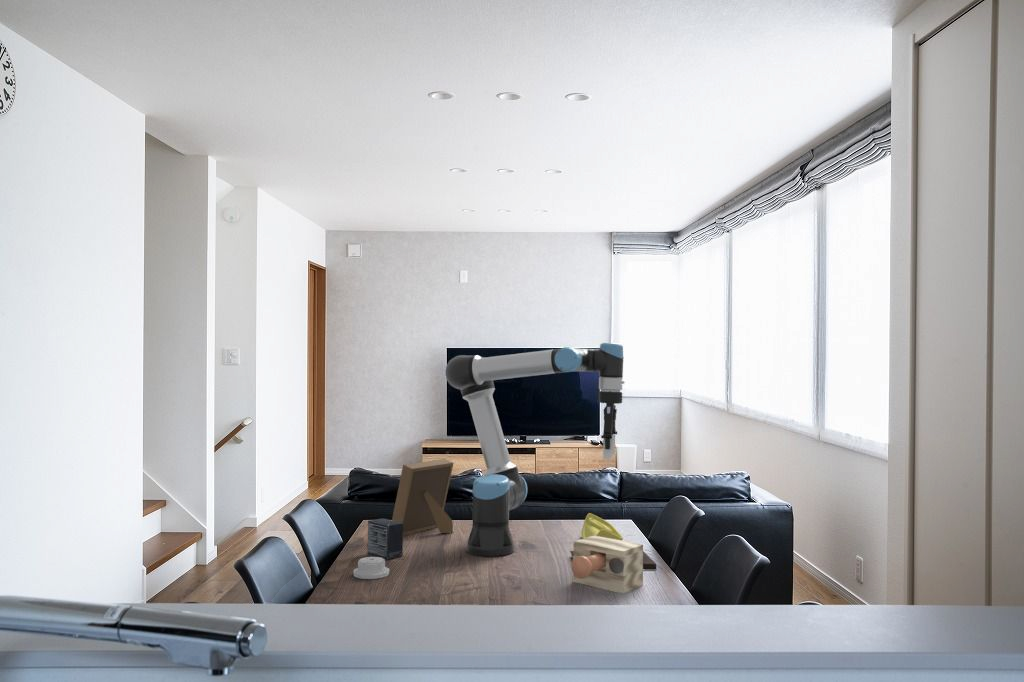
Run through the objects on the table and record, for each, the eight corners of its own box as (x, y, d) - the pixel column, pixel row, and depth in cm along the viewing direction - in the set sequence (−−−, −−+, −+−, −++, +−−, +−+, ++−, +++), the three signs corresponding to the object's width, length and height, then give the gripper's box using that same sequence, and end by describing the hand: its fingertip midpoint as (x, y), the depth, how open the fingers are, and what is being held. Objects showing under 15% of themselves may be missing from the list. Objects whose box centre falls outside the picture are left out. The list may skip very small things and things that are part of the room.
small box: (404, 556, 227) (404, 522, 227) (387, 560, 222) (387, 525, 223) (383, 550, 234) (383, 517, 235) (366, 554, 229) (367, 520, 230)
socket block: (621, 594, 191) (622, 551, 192) (571, 582, 202) (572, 541, 202) (642, 585, 200) (643, 544, 200) (593, 574, 210) (593, 535, 210)
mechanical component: (345, 576, 205) (372, 582, 200) (346, 560, 206) (372, 566, 200) (370, 568, 214) (396, 574, 209) (370, 553, 214) (396, 558, 209)
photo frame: (389, 535, 255) (391, 462, 255) (431, 524, 272) (433, 457, 273) (420, 542, 246) (423, 467, 247) (462, 531, 264) (464, 461, 264)
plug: (588, 580, 189) (589, 558, 189) (571, 576, 193) (571, 554, 193) (612, 571, 198) (612, 550, 198) (595, 567, 201) (595, 547, 202)
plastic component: (625, 539, 243) (598, 527, 242) (614, 559, 243) (588, 547, 242) (609, 522, 263) (585, 510, 261) (600, 541, 263) (576, 529, 261)
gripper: (620, 392, 224) (618, 462, 223) (624, 390, 248) (622, 453, 248) (595, 391, 225) (593, 461, 225) (602, 389, 250) (600, 451, 249)
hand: (608, 457), depth 236 cm, fingers open, 13 cm apart
